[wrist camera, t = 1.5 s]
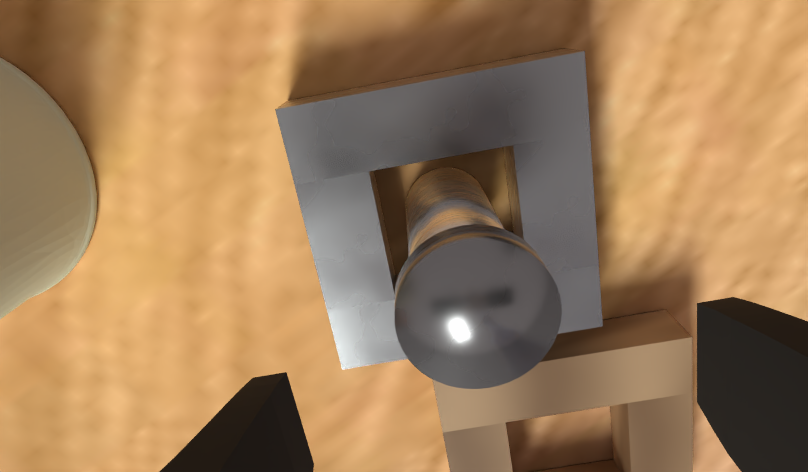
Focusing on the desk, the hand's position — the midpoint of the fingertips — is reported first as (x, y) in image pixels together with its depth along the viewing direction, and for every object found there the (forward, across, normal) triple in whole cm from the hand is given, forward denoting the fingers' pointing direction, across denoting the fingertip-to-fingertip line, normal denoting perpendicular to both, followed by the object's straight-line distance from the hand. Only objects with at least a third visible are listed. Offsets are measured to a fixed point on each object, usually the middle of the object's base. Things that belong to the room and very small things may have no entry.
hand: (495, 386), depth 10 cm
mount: (+10, 0, 0) cm, 10 cm away
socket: (+10, -3, +10) cm, 15 cm away
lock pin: (+10, 0, 0) cm, 10 cm away
